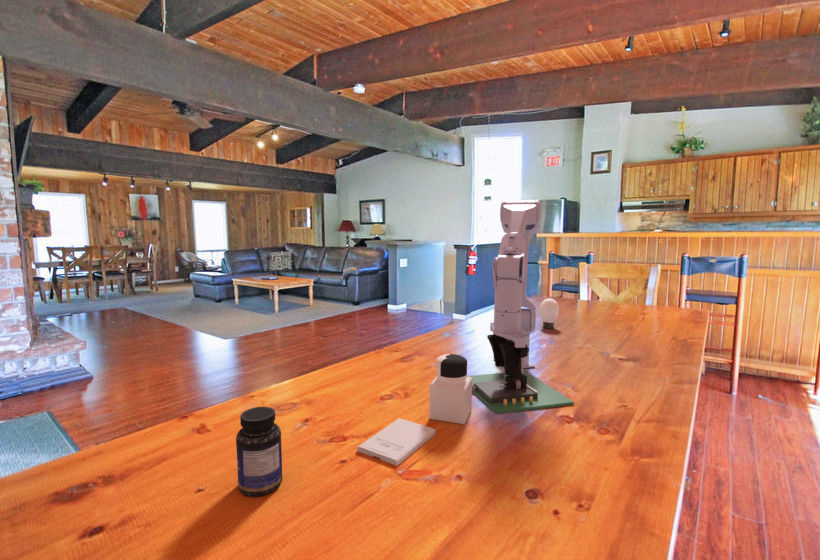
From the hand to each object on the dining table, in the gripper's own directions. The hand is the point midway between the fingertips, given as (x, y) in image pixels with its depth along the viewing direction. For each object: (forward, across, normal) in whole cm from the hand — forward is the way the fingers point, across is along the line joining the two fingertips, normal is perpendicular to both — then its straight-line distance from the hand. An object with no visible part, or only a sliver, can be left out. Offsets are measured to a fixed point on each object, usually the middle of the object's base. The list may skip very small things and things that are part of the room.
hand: (505, 370), depth 94 cm
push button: (+4, 0, -2) cm, 5 cm away
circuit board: (+6, +2, -3) cm, 7 cm away
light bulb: (+6, +57, -42) cm, 71 cm away
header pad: (+5, 0, 0) cm, 5 cm away
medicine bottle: (+6, -7, +14) cm, 17 cm away
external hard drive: (+7, -16, +27) cm, 32 cm away
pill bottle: (+6, -25, +48) cm, 55 cm away
